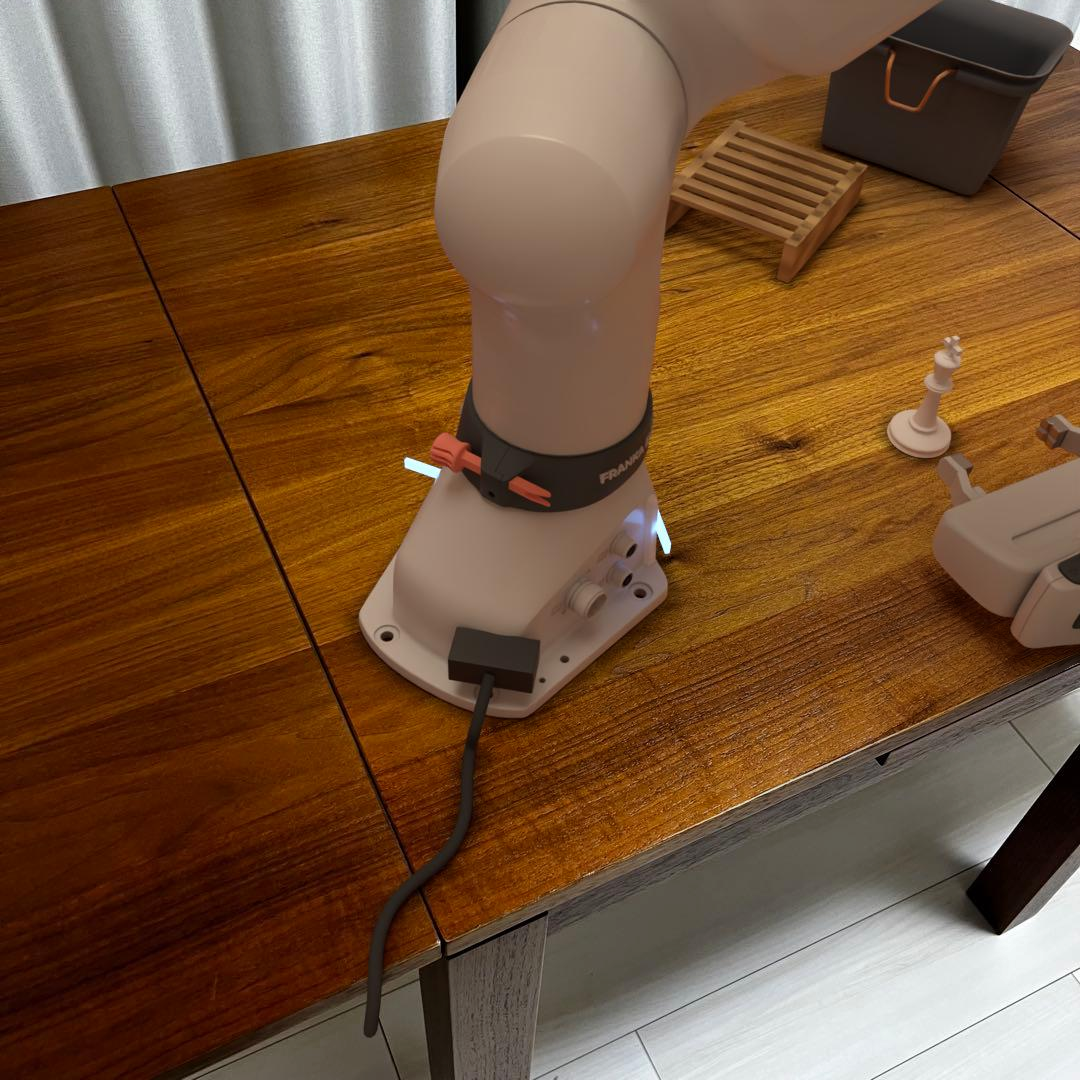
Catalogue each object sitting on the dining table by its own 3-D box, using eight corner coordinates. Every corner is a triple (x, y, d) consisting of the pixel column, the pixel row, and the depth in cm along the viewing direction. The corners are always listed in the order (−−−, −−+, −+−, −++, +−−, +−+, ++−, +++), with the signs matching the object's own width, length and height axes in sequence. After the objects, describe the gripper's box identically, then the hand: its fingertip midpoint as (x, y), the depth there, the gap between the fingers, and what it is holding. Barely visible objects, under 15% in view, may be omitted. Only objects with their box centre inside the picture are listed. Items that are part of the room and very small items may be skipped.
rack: (788, 284, 107) (797, 246, 104) (652, 230, 112) (657, 193, 109) (858, 202, 116) (868, 165, 113) (730, 155, 121) (736, 119, 118)
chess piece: (911, 465, 92) (950, 366, 85) (874, 425, 95) (908, 326, 88) (962, 448, 94) (1004, 349, 86) (924, 408, 97) (961, 309, 89)
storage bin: (1031, 159, 122) (1084, 22, 111) (983, 231, 113) (1036, 90, 103) (838, 97, 129) (870, -38, 118) (779, 161, 120) (808, 22, 110)
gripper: (1270, 494, 80) (1119, 369, 87) (1039, 597, 73) (898, 451, 81) (1226, 555, 84) (1086, 431, 92) (1004, 656, 78) (874, 514, 86)
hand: (996, 441), depth 86 cm, fingers open, 8 cm apart
